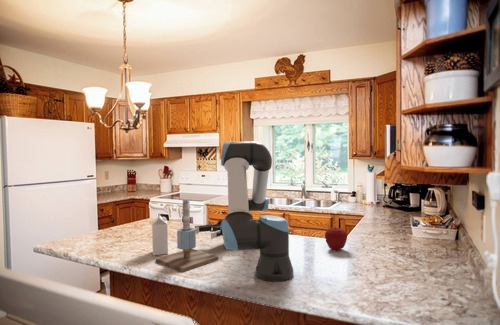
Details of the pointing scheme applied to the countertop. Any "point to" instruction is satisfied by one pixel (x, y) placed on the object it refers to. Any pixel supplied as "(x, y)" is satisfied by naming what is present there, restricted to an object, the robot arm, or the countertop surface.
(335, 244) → the apple
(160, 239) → the milk carton
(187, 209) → the post stand
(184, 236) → the sleeve
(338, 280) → the countertop surface
